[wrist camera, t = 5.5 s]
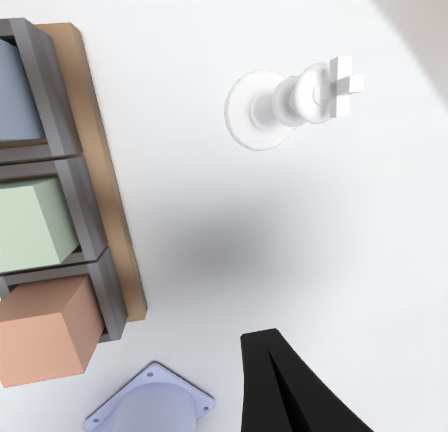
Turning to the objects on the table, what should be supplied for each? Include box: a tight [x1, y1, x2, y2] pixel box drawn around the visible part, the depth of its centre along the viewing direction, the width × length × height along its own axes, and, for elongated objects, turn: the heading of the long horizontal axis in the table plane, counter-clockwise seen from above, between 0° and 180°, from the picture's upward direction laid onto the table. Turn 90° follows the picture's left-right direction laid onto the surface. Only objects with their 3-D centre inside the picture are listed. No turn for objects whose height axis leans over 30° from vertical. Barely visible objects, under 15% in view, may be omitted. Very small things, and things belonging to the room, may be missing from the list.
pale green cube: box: [0, 175, 80, 272], centre depth 13 cm, size 4×4×4 cm
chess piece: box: [225, 55, 364, 151], centre depth 12 cm, size 5×5×10 cm
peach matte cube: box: [0, 274, 105, 388], centre depth 14 cm, size 4×4×4 cm
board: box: [0, 18, 147, 343], centre depth 15 cm, size 19×8×4 cm, turn 6°
